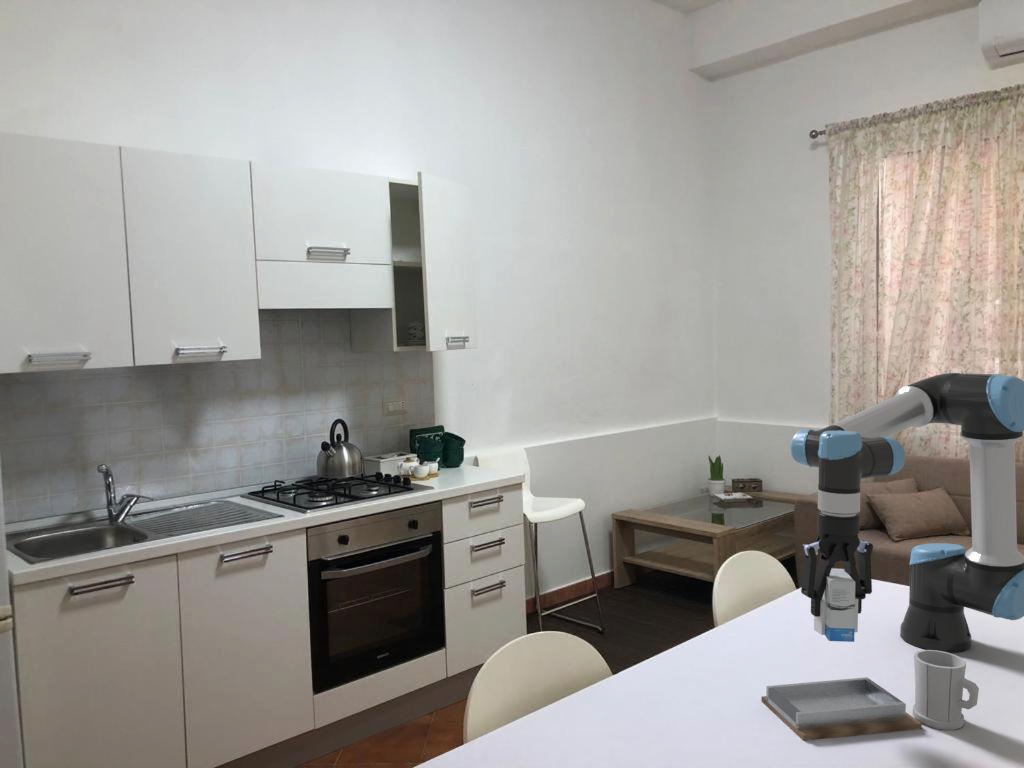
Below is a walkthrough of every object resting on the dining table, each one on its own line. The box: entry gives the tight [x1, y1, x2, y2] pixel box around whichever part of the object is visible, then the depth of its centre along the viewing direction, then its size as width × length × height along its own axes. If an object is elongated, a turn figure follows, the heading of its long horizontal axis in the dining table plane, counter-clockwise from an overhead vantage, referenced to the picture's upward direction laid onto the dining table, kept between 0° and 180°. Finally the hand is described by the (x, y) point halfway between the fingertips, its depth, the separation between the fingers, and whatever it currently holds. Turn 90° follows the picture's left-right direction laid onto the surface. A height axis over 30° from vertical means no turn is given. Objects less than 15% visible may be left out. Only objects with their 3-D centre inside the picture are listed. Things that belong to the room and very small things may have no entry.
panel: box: [760, 695, 923, 742], centre depth 159 cm, size 24×16×1 cm, turn 100°
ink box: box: [822, 567, 856, 643], centre depth 157 cm, size 8×5×12 cm, turn 172°
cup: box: [912, 649, 980, 731], centre depth 156 cm, size 10×9×12 cm
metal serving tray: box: [765, 676, 907, 730], centre depth 159 cm, size 22×12×3 cm, turn 100°
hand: (835, 630), depth 158 cm, fingers closed on ink box, 6 cm apart
